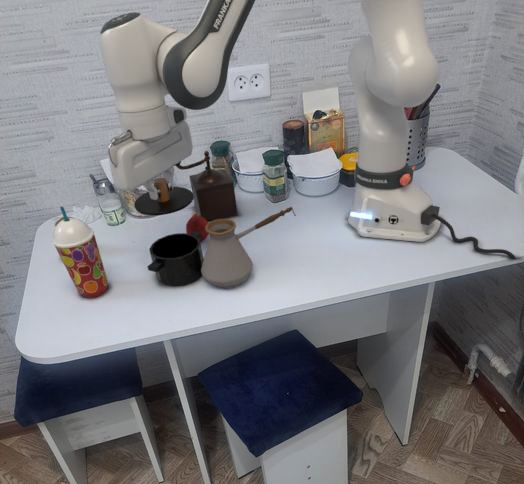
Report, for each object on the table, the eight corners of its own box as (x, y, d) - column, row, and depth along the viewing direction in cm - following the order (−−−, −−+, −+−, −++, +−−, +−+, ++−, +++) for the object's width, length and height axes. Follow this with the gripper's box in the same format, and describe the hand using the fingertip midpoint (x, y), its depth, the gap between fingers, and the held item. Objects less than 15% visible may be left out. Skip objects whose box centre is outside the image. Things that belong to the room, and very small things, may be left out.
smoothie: (91, 277, 110) (59, 196, 97) (120, 283, 107) (91, 200, 94) (68, 298, 104) (30, 214, 91) (98, 304, 102) (64, 219, 88)
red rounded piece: (208, 249, 115) (202, 219, 110) (185, 248, 117) (179, 218, 111) (214, 237, 120) (209, 207, 114) (193, 236, 121) (187, 207, 115)
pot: (221, 259, 111) (216, 233, 106) (178, 298, 101) (171, 270, 96) (184, 250, 116) (178, 224, 111) (139, 286, 106) (130, 259, 101)
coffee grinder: (229, 199, 135) (220, 134, 123) (238, 215, 127) (230, 147, 115) (176, 210, 133) (161, 145, 121) (182, 227, 125) (167, 159, 113)
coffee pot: (203, 296, 101) (190, 233, 91) (202, 267, 109) (191, 207, 99) (301, 283, 101) (299, 219, 91) (293, 256, 110) (291, 194, 100)
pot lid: (205, 196, 98) (201, 172, 95) (169, 222, 91) (163, 197, 88) (161, 188, 104) (155, 165, 100) (123, 212, 96) (115, 188, 93)
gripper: (118, 143, 79) (140, 219, 88) (191, 106, 91) (203, 176, 101) (92, 140, 82) (116, 214, 91) (166, 104, 94) (180, 172, 103)
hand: (162, 194), depth 96 cm, fingers closed on pot lid, 2 cm apart
